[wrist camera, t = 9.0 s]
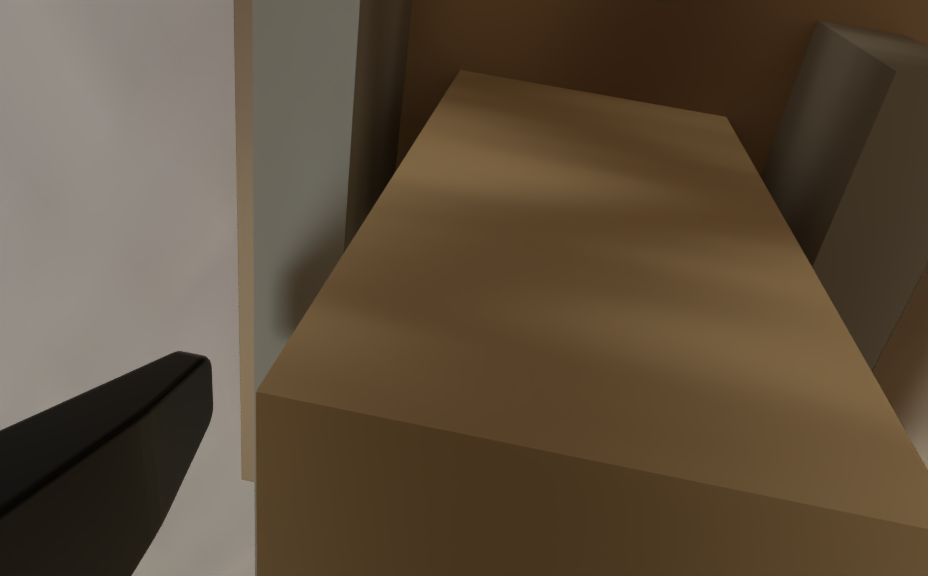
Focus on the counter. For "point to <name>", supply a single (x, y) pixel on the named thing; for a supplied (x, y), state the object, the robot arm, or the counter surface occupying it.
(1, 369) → the counter surface
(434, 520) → the oak rail end
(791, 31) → the slot board
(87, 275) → the counter surface
